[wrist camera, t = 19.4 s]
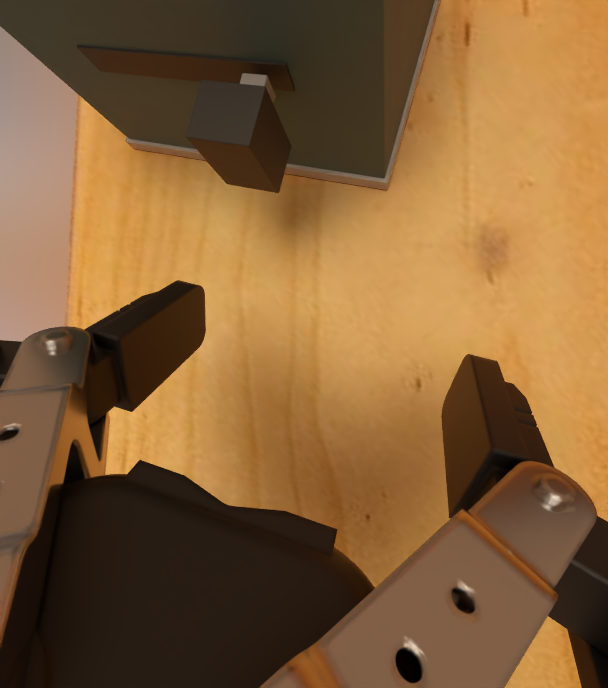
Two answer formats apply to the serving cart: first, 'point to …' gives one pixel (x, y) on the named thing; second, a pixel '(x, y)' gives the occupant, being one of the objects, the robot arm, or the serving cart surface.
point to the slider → (240, 132)
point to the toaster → (243, 69)
